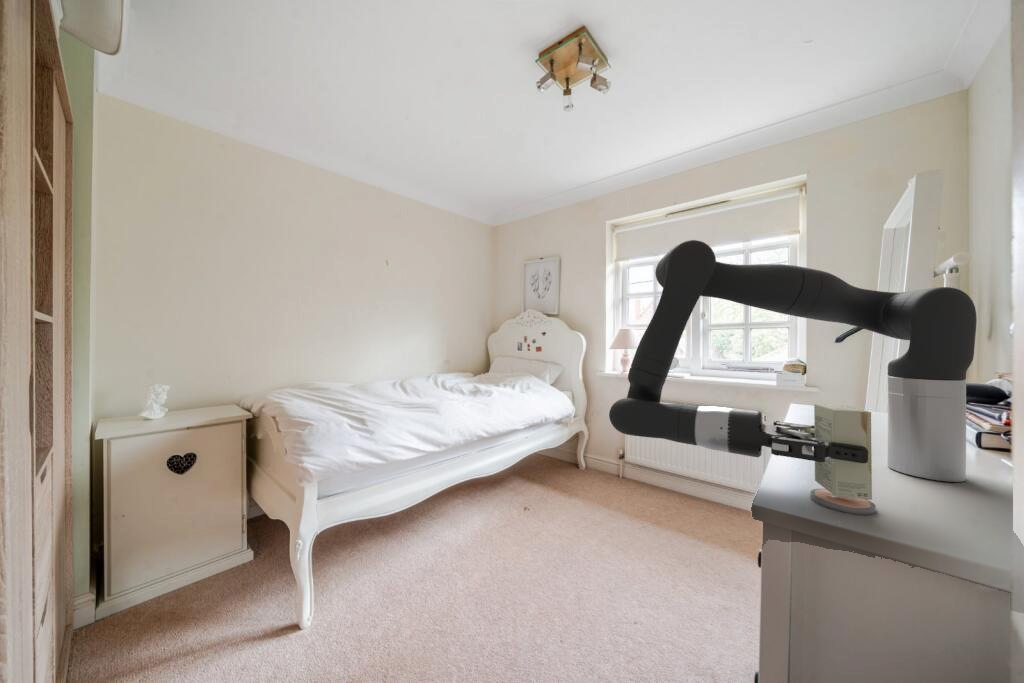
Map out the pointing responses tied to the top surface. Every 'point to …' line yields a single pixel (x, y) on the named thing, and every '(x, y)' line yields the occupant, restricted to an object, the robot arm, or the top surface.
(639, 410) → the robot arm
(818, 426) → the skincare box
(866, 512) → the tile
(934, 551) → the top surface
